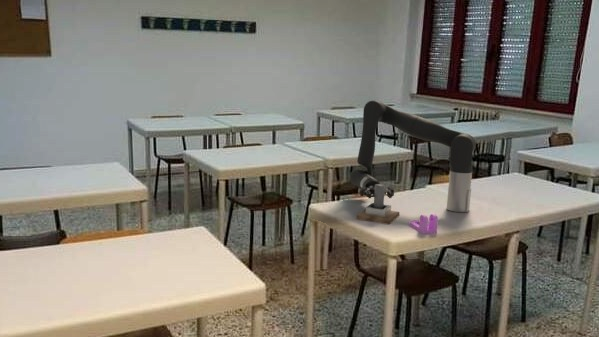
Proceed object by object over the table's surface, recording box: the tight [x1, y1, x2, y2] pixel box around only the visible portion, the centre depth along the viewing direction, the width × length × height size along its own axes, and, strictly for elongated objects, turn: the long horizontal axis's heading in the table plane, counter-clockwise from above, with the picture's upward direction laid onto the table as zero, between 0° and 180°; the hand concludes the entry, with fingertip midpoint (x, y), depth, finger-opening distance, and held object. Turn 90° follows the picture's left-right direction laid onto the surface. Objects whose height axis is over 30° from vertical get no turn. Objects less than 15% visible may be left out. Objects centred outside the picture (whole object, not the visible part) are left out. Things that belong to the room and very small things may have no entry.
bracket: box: [409, 213, 439, 235], centre depth 209 cm, size 13×6×7 cm, turn 17°
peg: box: [373, 183, 386, 209], centre depth 221 cm, size 4×4×12 cm
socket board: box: [355, 202, 400, 225], centre depth 222 cm, size 14×14×4 cm
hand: (380, 195), depth 219 cm, fingers open, 8 cm apart
